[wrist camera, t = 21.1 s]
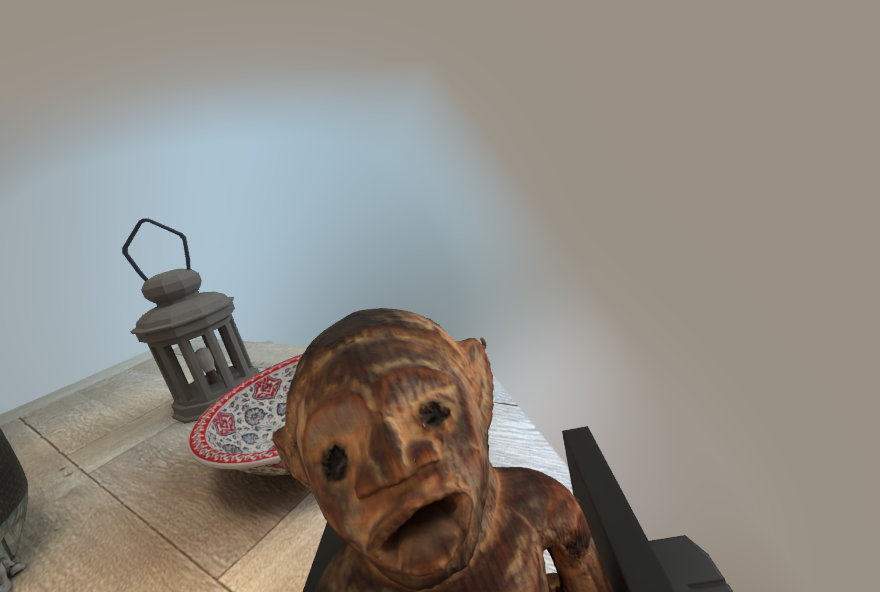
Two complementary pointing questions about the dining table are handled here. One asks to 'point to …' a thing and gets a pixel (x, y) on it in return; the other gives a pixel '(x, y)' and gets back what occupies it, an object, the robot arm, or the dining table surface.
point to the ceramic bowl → (245, 424)
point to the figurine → (422, 468)
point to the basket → (10, 510)
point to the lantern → (190, 336)
